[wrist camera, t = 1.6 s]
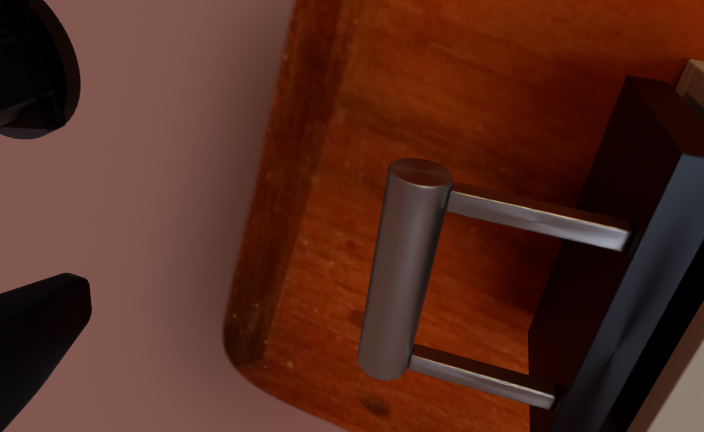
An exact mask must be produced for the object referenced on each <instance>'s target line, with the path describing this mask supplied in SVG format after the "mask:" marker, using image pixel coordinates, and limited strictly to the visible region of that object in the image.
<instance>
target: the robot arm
mask: <svg viewBox="0 0 704 432" xmlns="http://www.w3.org/2000/svg"><path fill="white" fill-rule="evenodd" d="M53 117H54V118H55V119H56V120H55V119H54V118H53ZM66 122H67V121H66V116H65V113H64V110H63V107H62V104H61V101H60V98H59V94H58V91H57V88H56V85H55V82H54V79H53V76H52V73H51V69H50V66H49V63H48V60H47V57H46V54H45V51H44V47H43V44H42V41H41V38H40V35H39V32H38V29H37V25H36V22H35V19H34V16H33V13H32V10H31V7H30V4H29V0H17V3H16V1H15V0H0V127H6V128H28V129H49V130H56V129H59V128H62V127H64V126H65V125H66ZM91 313H92V306H91V296H90V285H89V282H88V281H87V279H85V278H83V277H80V276H77V275H74V274H71V273H63V274H59V275H56V276H53V277H50V278H47V279H44V280H41V281H38V282H35V283H32V284H29V285H26V286H23V287H20V288H17V289H14V290H10V291H7V292H4V293H1V294H0V432H3V430H4V429H5V428H6V427H7V426H8V425H9V424H10V423H11V421H12V420H13V419H14V418H15V417H16V416H17V415H18V413H19V412H20V411H21V410H22V409H23V408H24V407H25V405H26V404H27V403H28V402H29V401H30V400H31V399H32V398H33V396H34V395H35V394H36V393H37V392H38V390H39V389H40V388H41V387H42V385H43V384H44V383H45V381H46V380H47V379H48V377H49V376H50V375H51V373H52V372H53V370H54V369H55V368H56V366H57V365H58V364H59V362H60V361H61V359H62V358H63V356H64V355H65V354H66V352H67V351H68V349H69V348H70V347H71V346H72V344H73V343H74V341H75V340H76V339H77V337H78V336H79V334H80V333H81V332H82V330H83V329H84V327H85V326H86V325H87V323H88V322H89V320H90V317H91Z"/></svg>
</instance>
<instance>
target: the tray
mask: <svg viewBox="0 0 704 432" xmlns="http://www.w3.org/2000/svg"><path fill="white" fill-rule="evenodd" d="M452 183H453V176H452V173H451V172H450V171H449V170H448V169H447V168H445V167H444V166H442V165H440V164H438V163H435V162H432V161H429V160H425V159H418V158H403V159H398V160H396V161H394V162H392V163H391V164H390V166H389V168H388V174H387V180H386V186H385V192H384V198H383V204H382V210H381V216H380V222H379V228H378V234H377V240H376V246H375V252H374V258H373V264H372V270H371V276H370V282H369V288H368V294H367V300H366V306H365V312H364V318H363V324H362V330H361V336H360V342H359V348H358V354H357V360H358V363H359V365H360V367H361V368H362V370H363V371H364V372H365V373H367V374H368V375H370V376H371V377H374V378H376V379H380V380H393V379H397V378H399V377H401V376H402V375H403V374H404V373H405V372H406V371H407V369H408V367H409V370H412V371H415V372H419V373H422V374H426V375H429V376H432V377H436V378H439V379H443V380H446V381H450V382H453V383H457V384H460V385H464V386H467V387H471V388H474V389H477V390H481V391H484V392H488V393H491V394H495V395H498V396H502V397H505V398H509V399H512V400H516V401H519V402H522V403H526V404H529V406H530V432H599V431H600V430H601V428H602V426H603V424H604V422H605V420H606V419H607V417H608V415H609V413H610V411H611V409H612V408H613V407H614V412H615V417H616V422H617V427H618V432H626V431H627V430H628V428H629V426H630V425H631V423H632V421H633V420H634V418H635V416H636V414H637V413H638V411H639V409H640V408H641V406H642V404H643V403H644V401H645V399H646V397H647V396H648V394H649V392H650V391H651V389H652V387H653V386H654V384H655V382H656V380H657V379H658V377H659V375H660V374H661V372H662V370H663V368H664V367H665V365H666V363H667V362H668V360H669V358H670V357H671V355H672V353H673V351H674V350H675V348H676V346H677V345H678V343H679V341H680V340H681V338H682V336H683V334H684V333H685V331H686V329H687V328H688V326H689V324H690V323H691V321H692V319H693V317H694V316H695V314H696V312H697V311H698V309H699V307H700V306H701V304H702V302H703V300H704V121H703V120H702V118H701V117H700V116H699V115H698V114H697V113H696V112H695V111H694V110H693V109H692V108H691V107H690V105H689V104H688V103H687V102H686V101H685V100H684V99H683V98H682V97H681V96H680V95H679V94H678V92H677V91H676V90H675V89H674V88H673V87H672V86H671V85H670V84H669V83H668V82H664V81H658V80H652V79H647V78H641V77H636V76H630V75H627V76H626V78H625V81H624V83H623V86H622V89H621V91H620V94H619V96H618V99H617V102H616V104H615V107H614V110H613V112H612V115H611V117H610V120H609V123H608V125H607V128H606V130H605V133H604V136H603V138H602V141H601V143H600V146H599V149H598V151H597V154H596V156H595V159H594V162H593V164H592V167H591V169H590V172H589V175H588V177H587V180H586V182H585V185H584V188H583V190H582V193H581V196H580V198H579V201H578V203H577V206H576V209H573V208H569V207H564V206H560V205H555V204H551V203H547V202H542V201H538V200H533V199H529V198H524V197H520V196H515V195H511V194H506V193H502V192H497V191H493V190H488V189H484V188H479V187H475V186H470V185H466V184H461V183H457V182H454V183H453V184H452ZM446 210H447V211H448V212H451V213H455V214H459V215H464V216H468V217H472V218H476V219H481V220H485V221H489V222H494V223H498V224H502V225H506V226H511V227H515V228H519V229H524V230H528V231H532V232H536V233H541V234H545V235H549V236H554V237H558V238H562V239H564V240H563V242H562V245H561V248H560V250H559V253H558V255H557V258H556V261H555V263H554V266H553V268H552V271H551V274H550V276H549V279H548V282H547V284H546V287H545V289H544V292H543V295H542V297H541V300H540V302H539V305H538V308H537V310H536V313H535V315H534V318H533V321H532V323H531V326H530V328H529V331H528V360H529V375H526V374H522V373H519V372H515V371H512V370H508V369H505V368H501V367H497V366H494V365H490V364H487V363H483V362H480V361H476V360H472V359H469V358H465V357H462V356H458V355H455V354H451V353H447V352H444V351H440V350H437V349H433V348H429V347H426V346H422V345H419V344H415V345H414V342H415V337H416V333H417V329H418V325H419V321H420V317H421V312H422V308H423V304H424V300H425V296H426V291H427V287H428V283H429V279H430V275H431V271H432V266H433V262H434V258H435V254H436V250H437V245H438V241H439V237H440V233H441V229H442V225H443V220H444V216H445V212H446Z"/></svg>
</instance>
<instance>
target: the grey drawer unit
mask: <svg viewBox="0 0 704 432" xmlns="http://www.w3.org/2000/svg"><path fill="white" fill-rule="evenodd" d="M675 90H676V91H677V92H678V94H679V95H680V96H681V97H682V98H683V99H684V100H685V101H686V102H687V103H688V104H689V105H690V107H691V108H692V109H693V110H694V111H695V112H696V113H697V114H698V115H699V116H700V117H701V118H702V120H703V121H704V61H700V60H694V59H690V60H688V62H687V64H686V66H685V68H684V71H683V73H682V75H681V78H680V80H679V82H678V84H677V87H676V89H675ZM599 432H618V427H617V422H616V417H615V412H614V407H613V408H612V409H611V411H610V413H609V415H608V417H607V419H606V420H605V422H604V424H603V426H602V428H601V430H600V431H599ZM626 432H704V300H703V302H702V304H701V306H700V307H699V309H698V311H697V312H696V314H695V316H694V317H693V319H692V321H691V323H690V324H689V326H688V328H687V329H686V331H685V333H684V334H683V336H682V338H681V340H680V341H679V343H678V345H677V346H676V348H675V350H674V351H673V353H672V355H671V357H670V358H669V360H668V362H667V363H666V365H665V367H664V368H663V370H662V372H661V374H660V375H659V377H658V379H657V380H656V382H655V384H654V386H653V387H652V389H651V391H650V392H649V394H648V396H647V397H646V399H645V401H644V403H643V404H642V406H641V408H640V409H639V411H638V413H637V414H636V416H635V418H634V420H633V421H632V423H631V425H630V426H629V428H628V430H627V431H626Z"/></svg>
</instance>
